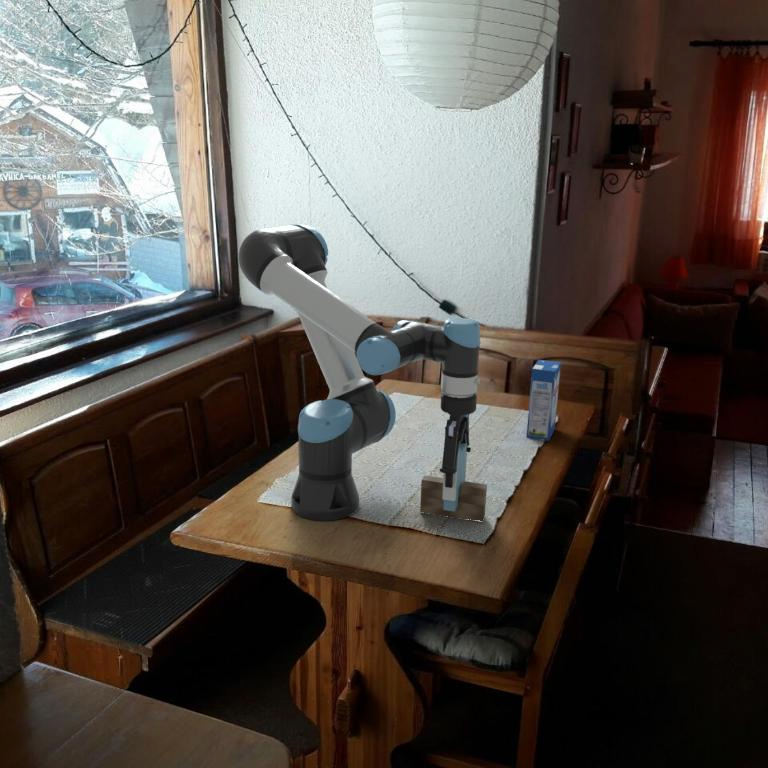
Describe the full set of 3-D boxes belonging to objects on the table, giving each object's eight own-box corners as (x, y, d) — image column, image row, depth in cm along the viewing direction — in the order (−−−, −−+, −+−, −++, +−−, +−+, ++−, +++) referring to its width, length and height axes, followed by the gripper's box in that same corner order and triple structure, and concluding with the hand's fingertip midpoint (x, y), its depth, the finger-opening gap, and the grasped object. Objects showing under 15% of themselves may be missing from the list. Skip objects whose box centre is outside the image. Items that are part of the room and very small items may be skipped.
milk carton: (548, 440, 221) (555, 371, 215) (526, 437, 223) (532, 368, 217) (554, 429, 230) (561, 362, 224) (533, 425, 232) (538, 359, 226)
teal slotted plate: (454, 511, 171) (457, 459, 167) (443, 509, 171) (445, 457, 168) (464, 492, 180) (466, 442, 176) (453, 490, 180) (455, 441, 177)
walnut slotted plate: (420, 512, 178) (421, 479, 175) (422, 508, 180) (424, 475, 177) (482, 522, 174) (484, 489, 171) (484, 517, 176) (486, 484, 174)
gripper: (466, 411, 157) (460, 514, 163) (486, 379, 177) (480, 471, 184) (428, 407, 159) (425, 508, 165) (452, 375, 179) (448, 467, 186)
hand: (454, 489), depth 175 cm, fingers closed on teal slotted plate, 10 cm apart
